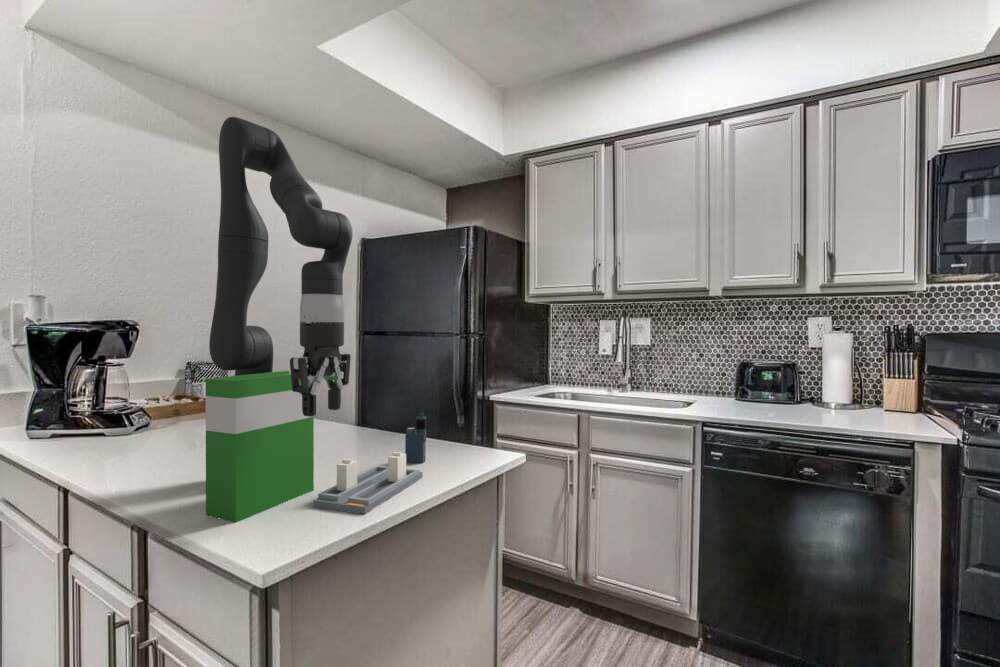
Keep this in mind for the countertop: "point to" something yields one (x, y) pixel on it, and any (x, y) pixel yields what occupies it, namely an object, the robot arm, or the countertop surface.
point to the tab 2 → (396, 466)
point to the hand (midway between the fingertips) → (322, 412)
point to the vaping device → (416, 441)
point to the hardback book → (256, 444)
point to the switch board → (366, 491)
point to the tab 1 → (346, 474)
